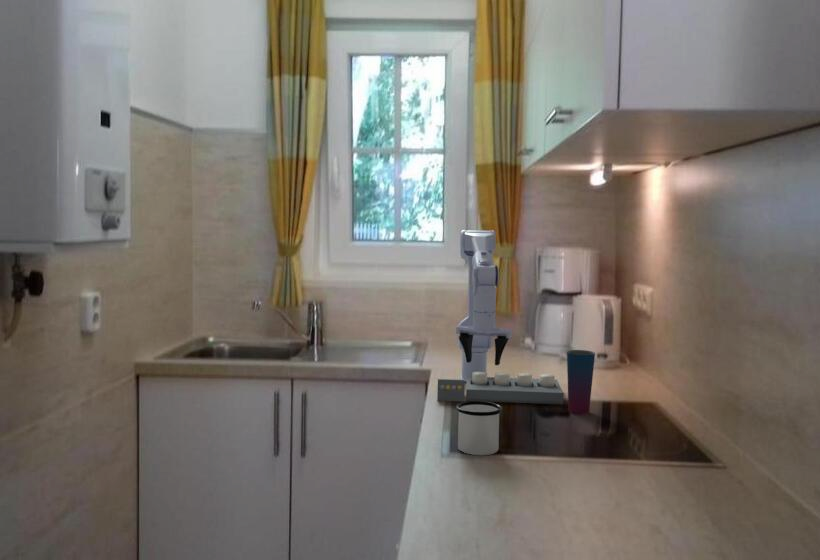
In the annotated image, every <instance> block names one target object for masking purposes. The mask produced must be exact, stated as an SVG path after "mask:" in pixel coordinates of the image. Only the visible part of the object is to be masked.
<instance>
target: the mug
mask: <svg viewBox="0 0 820 560" xmlns="http://www.w3.org/2000/svg"><path fill="white" fill-rule="evenodd" d="M455 409H456V411H457V412H458V427H457V428H458V430H457V449H458V450H459V452H461V451H462V453H463V452H464V454H466V453H467V454H466V455H470V454H471V456H479V457H480V456H482V457H483V456H490V455H493V454H495V453H497V452H498V451H499V446H500V445H499V443H500V441H499V436H500V433H499V432H500V414H501V413H502V412H503V407H502V406H501V405H499V404H497V403H496V402H488V401H461V402H459V403H458V404H456V405H455Z"/></svg>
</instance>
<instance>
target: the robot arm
mask: <svg viewBox="0 0 820 560" xmlns="http://www.w3.org/2000/svg"><path fill="white" fill-rule="evenodd" d="M496 240H497V239H496V232H495V230H494V229H491V230H473V229H472V230H469V229H466V230H465V229H462V230H461V232H460V238H459V241H460V242H459V244H460V245H459V247H460V251H459V253H460V257H461V259H463V260H465V262H466V263H467V267H468V277H467V278H468V282H467V283H468V286H467V288H468V290H467V291H468V292H467V293H468V295H467V299H468V300H467V301H468V302H467V317H464V319H462V320H461V321H460V322H459V323H458V326H455V327H456V328H455V329H456V330H455V334H456V335H457V347H458V348H459V349H461V351H462V353H461V354H462V355H461V356H462V357H461V374H460V375H459V377H460V379H465V383H467V376H468V377H472V376H473V372H485V373H487V368H488V367H487V365H488V364H487V362H488V352H489V350H490V349H492V347H493V337H494V347H495V348H494V349H495V354H494V355H495V357H494V366H499V365H500V364H501V358H502V354H503V352H504V350H505V347H506V346H507V344H508V341H509V339H511V338H513V330H512V329H506V328H498V327H496V313H497V312H496V310H497V309H496V308H497V305H496V304H497V288H498V286H499V280H500V279H499V278H500V273H499V271H500V270H499V266H498V264H495V261H494V257H493V255H494V252H495V249H496V242H497V241H496Z"/></svg>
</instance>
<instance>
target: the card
mask: <svg viewBox="0 0 820 560" xmlns="http://www.w3.org/2000/svg"><path fill="white" fill-rule="evenodd" d="M465 384H466V382H465V379H459V378H437V394H436V395H437V398H436V399H437V400H436V401H438V400H443V401H444V402H445V401H446V402H465V393H466V390H465V388H466V387H465V386H466V385H465ZM443 401H442V402H443Z"/></svg>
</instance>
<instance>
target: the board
mask: <svg viewBox="0 0 820 560" xmlns="http://www.w3.org/2000/svg"><path fill="white" fill-rule="evenodd" d="M494 384H495V376H493V377H491V376H487V385H472V377H468V376H467V382H466V390H465V393H466V394H465V395H466V397H465V398H466V400H465V402H469V401H483V402H490V403H517V404H545V405H564V391H563V389H562V387H561V385H560V383H559V382H558V379H554V387H539V378H532V387H528V386H517V377H510V379H509V386H500V385H494Z"/></svg>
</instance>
